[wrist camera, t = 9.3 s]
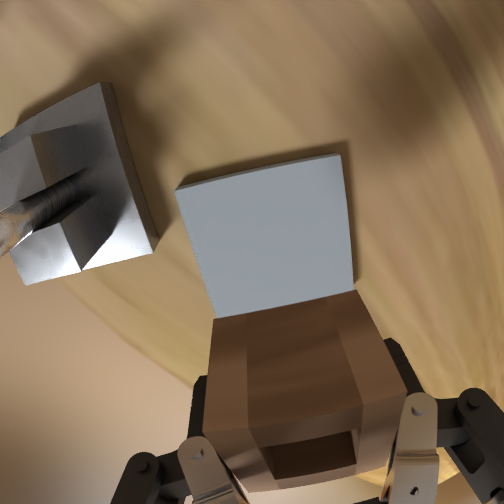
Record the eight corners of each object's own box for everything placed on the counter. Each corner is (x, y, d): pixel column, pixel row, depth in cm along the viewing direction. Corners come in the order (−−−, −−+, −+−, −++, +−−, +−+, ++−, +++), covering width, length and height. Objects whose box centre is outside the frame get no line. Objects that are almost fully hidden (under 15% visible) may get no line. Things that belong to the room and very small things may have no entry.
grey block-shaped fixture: (11, 136, 18) (-114, 186, 6) (111, 83, 17) (-29, 81, 5) (59, 266, 23) (-24, 372, 12) (159, 240, 22) (94, 375, 11)
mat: (177, 187, 21) (174, 191, 20) (336, 152, 20) (340, 155, 19) (219, 314, 26) (218, 322, 25) (350, 287, 25) (353, 294, 24)
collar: (213, 318, 12) (202, 431, 7) (356, 289, 11) (407, 391, 7) (246, 401, 14) (248, 492, 10) (357, 379, 14) (385, 466, 9)
